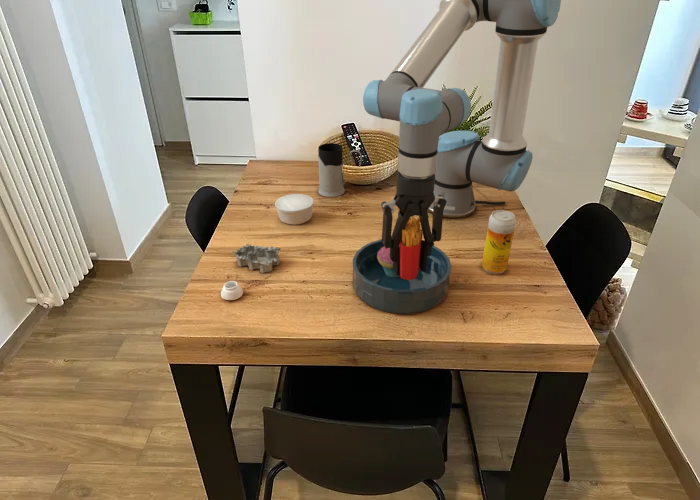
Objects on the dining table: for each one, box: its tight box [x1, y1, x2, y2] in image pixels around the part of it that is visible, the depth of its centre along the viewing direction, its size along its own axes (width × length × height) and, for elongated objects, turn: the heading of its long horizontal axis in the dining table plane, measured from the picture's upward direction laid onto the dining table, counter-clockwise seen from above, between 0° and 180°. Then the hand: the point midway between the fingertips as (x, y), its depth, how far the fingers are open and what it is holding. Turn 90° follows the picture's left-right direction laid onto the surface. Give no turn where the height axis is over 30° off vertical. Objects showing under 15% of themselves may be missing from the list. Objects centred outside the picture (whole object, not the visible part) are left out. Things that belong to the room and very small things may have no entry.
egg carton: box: [232, 243, 282, 274], centre depth 126 cm, size 11×8×4 cm
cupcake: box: [377, 245, 400, 278], centre depth 119 cm, size 9×8×12 cm
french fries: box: [399, 216, 423, 280], centre depth 107 cm, size 8×4×12 cm, turn 161°
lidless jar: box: [220, 280, 244, 301], centre depth 115 cm, size 5×3×5 cm
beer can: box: [481, 209, 517, 275], centre depth 120 cm, size 6×6×15 cm
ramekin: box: [274, 193, 315, 226], centre depth 146 cm, size 11×11×5 cm
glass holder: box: [317, 142, 363, 198], centre depth 159 cm, size 9×14×15 cm, turn 94°
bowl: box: [352, 238, 453, 315], centre depth 117 cm, size 23×23×6 cm
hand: (409, 269), depth 110 cm, fingers closed on french fries, 5 cm apart
